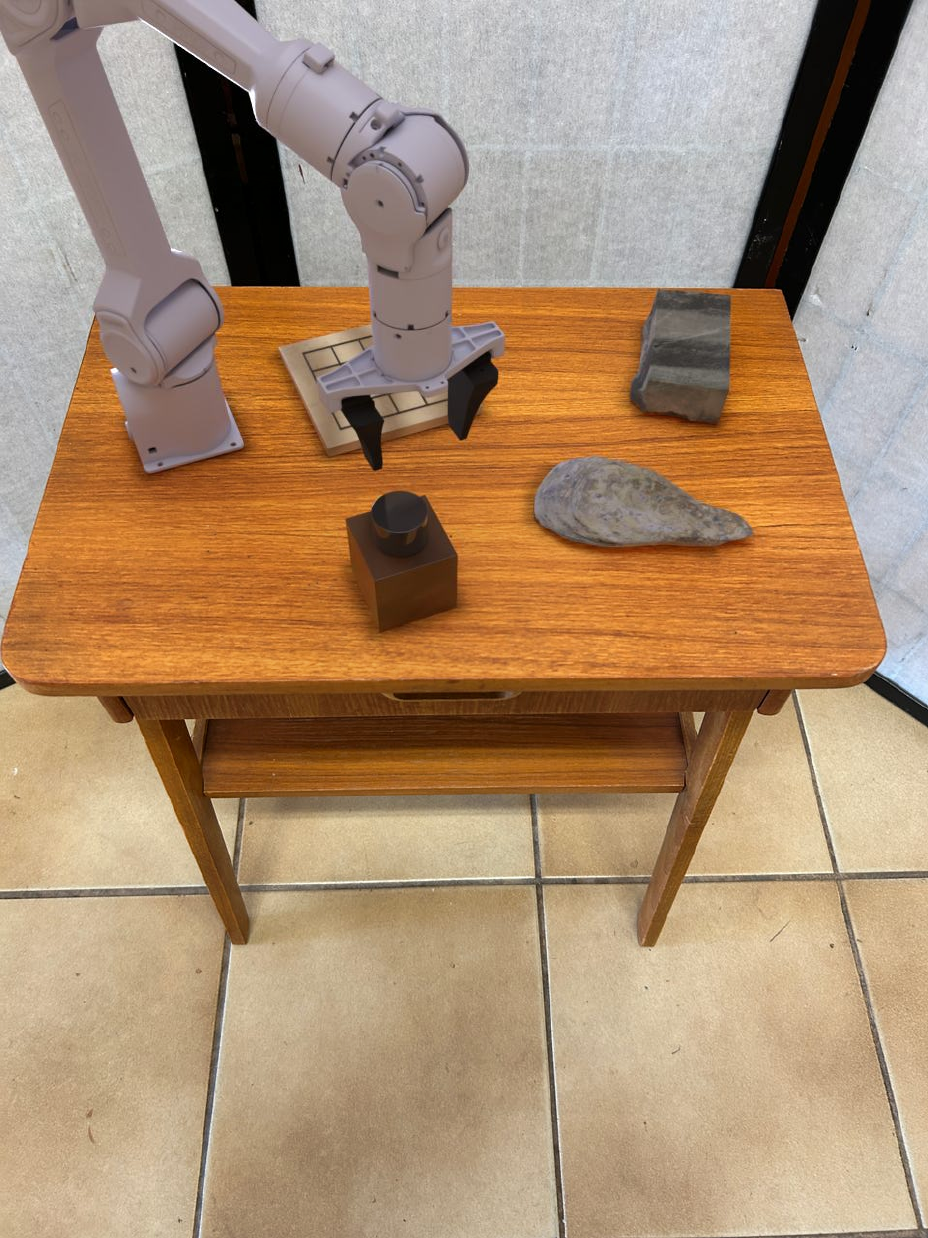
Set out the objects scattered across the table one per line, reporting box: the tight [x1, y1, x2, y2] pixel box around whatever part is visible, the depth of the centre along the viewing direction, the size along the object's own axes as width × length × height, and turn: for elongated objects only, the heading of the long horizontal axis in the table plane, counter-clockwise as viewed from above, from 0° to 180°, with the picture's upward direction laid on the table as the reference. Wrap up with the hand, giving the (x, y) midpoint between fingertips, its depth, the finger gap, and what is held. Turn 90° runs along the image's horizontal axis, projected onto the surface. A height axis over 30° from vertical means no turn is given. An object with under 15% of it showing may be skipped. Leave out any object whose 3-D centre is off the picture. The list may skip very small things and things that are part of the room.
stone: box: [533, 455, 755, 548], centre depth 86 cm, size 20×4×10 cm
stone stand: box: [345, 494, 459, 633], centre depth 79 cm, size 7×7×7 cm
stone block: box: [629, 288, 732, 425], centre depth 97 cm, size 9×14×5 cm, turn 170°
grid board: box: [278, 323, 483, 458], centre depth 96 cm, size 16×16×1 cm
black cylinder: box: [370, 490, 428, 557], centre depth 75 cm, size 4×4×3 cm
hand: (416, 446), depth 77 cm, fingers open, 7 cm apart
